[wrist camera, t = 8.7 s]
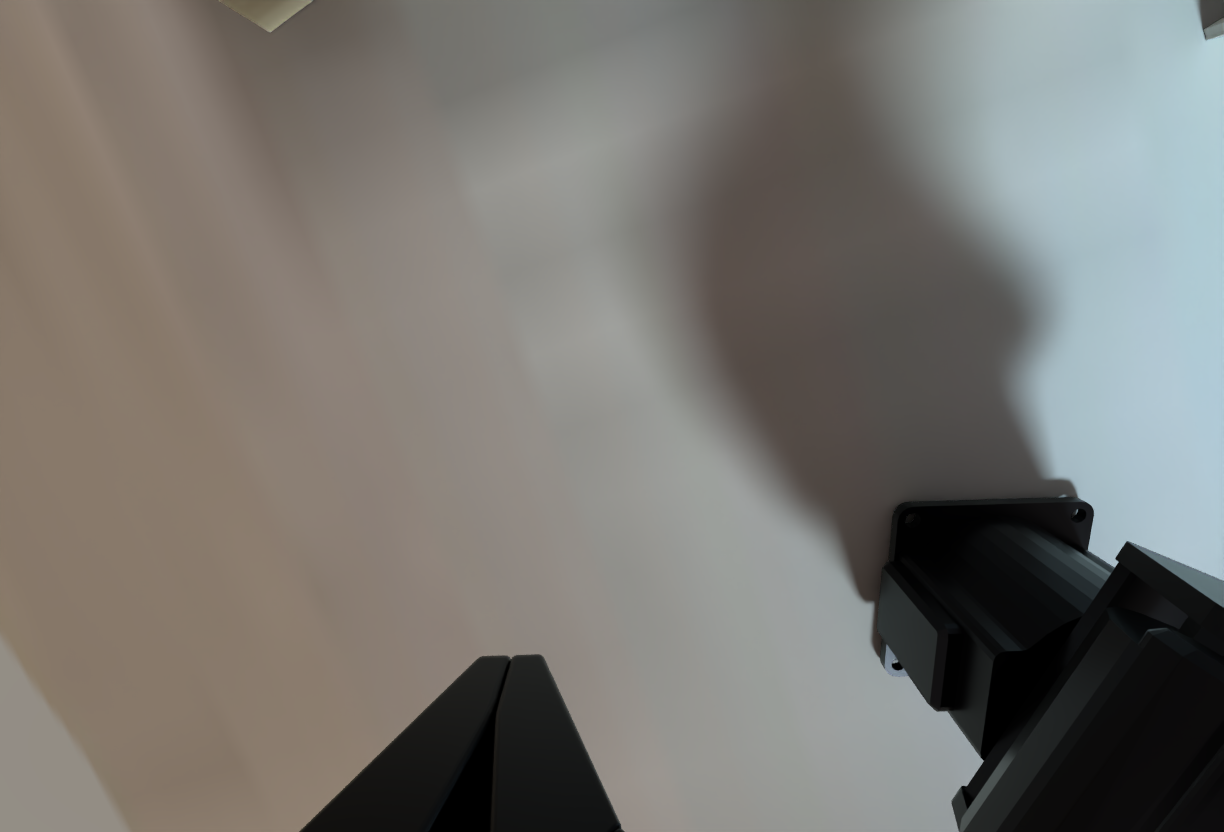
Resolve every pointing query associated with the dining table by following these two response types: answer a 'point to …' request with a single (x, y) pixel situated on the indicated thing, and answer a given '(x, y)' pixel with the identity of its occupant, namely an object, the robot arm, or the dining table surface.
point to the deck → (266, 10)
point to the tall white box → (1215, 30)
